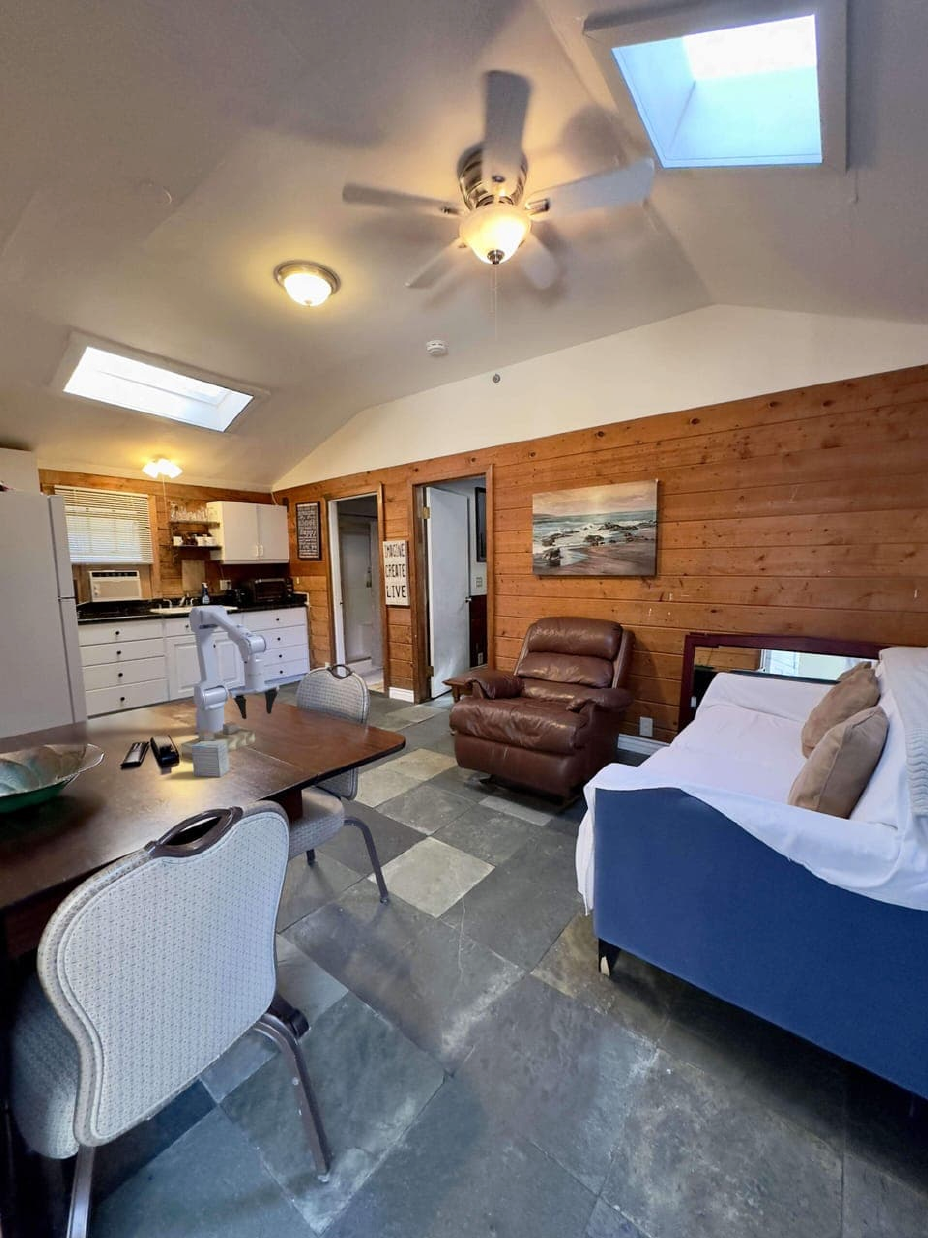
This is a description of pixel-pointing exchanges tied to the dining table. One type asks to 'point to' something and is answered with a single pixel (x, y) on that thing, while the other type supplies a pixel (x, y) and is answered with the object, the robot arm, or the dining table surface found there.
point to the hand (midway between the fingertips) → (256, 715)
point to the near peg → (206, 735)
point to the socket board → (233, 741)
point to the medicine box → (210, 758)
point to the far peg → (230, 728)
